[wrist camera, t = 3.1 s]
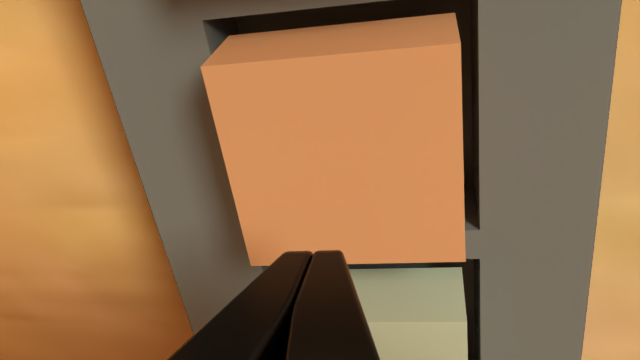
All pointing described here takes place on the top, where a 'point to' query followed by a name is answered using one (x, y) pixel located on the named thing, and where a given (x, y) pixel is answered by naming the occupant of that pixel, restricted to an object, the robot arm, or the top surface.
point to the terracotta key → (345, 139)
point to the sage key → (414, 312)
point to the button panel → (478, 149)
